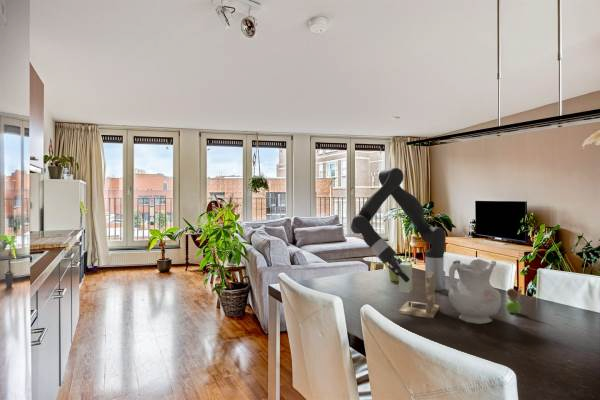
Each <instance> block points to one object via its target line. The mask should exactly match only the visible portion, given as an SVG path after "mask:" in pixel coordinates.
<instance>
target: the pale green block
mask: <svg viewBox="0 0 600 400" xmlns="http://www.w3.org/2000/svg"><path fill="white" fill-rule="evenodd" d="M399 266H400V267H401V270H402V271H403V272H404V273H405V274H406V275H407V277H408V278H409V279H410V280H409V281H408V282H405V281H404V280H403V279H402V278H401V277H400V276H399V281H398V292H399V293H405V294H410V293H411V292H412V291H413V277H412V276H413V263H412V262H411V263H409V262H403V263H401V264H399Z"/></svg>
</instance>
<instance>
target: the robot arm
mask: <svg viewBox="0 0 600 400" xmlns="http://www.w3.org/2000/svg"><path fill="white" fill-rule="evenodd" d="M378 181H379V183H380V184H381V186H380V188H379V189H377V191H375V192H374V193H372V194H371V196H370V197H369V196H368V198H367V200H366V201H365V203H364V204H363V206H362V207H361V209H360V210H359V212H358V214H357V215H356V216H355V215H354V217H353V218H352V220H351V224H350V229H351V231H352V232H353V233H354V234H356V235H360V234H361V236H362V238H363V241H364V242H365V244H366V245H367V247H369V249H371V251H372V253H374V255H375V256H376V257H377V258H378V260H380V261H381V263H383V264H388V265H387V266H388V267H387V268H390V269H391V270H392V271H393V272H394V273H395V274H396V275H397V276H400V277H401V278H402V279H403V280H404V281H405V282H408V281H409V280H410V279H409V278H408V277H407V275H406V274H405V273H404V272H403V271H402V270H401V267H400V266H399V264H401V263H404V262H403V260H402V259H401V258H400V257H398V258H396V254H397V252H396V251H395V249H394V248H392V247H391V245H389V243H388V242H387V241H386V240H384V238H382V237H381V235H380V234H378V232H377V231H376V230H375V229H374V227H373V226H372V224H371V221H372V219H373V218H374V217H375V215H376V214H377V212H378V211H379V209H380V208H381V207H382V205H383V204H384V202H386V200H388V199H389V197H390V196H391V197H392V198H393V199H394V201H396V203H397V204H398V206H399V207H400V208H401V210H402V211H403V213H404V214H405V215H406V216H407V217H408V219H409V220H410V221H411V223H412V224H413V225H414V227H415V228H416V229H417V232H418V233H419V235H420V237H421V239H422V240H423V241H424V242H425V243H426V244H430V245H431V248H430V249H428V250H425V252H424V253H425V255H424V256H425V257H424V258H425V263H424V265H425V268H424V269H425V272H424V273H425V281H424V282H425V286H424V287H426V277H427V276H428V275H429V274H430V273H431V272H433V273H435V291H443V290H446V271H445V270H444V265H445V264H444V263H445V262H444V257H445V256H444V255H445V252H446V242H447V241H446V231H445V229H444V228H442V227H438V226H431V225H430V223H428V221H427V219H426V218H425V209H424V207H423V205H422V204H421V202H420V201H419V199H417V197H416V196H415V195H414V194H412V193H409V191H408V190H407V191H406V190H405V189H404V188H403V187H401V184H402V182H403V181H404V173H403V171H402V170H401V168H398V167H392V168H385V169H383V170H381V171H380V172H379V173H378ZM413 277H414V276H413V275H412V278H413Z"/></svg>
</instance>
